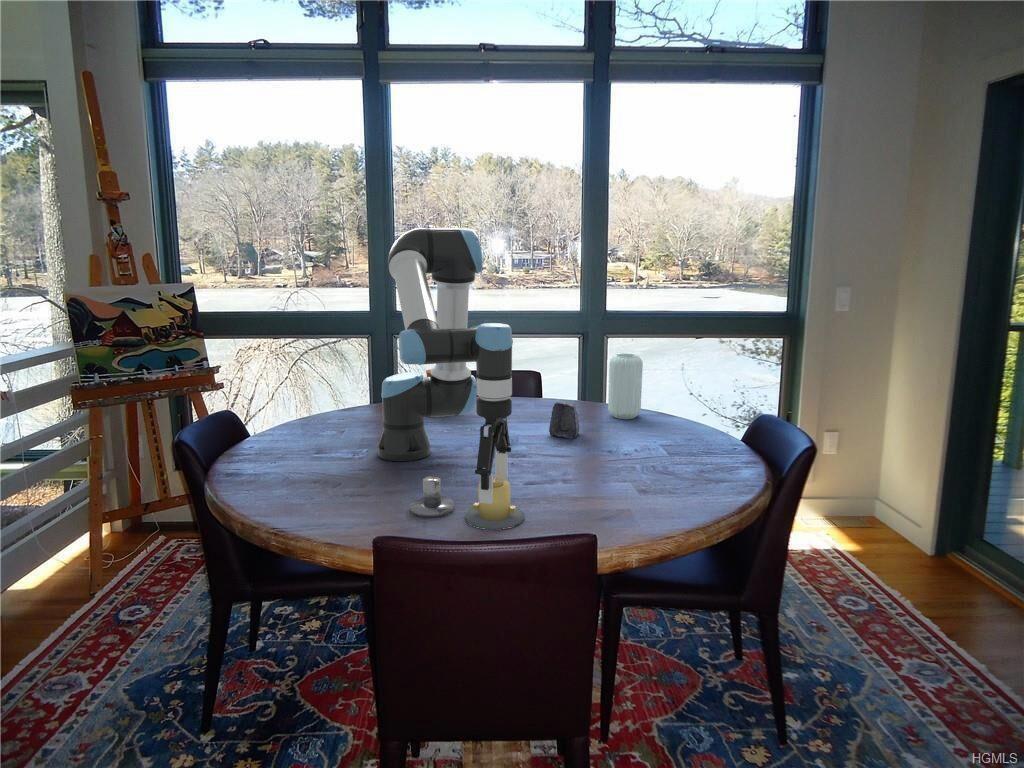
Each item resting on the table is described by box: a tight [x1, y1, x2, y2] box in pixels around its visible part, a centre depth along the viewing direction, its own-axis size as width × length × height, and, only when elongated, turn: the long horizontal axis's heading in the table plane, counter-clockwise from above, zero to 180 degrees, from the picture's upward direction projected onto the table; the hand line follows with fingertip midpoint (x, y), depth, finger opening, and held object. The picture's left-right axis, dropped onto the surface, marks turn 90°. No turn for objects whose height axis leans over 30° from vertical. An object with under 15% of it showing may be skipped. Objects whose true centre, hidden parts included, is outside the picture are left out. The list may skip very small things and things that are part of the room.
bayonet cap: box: [472, 477, 517, 521], centre depth 143 cm, size 7×9×8 cm
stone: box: [548, 401, 580, 439], centre depth 209 cm, size 12×10×10 cm
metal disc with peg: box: [409, 475, 455, 519], centre depth 148 cm, size 10×10×7 cm
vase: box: [607, 352, 644, 420], centre depth 231 cm, size 12×12×22 cm
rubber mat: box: [464, 504, 525, 530], centre depth 144 cm, size 13×13×1 cm
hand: (494, 491), depth 143 cm, fingers open, 13 cm apart
